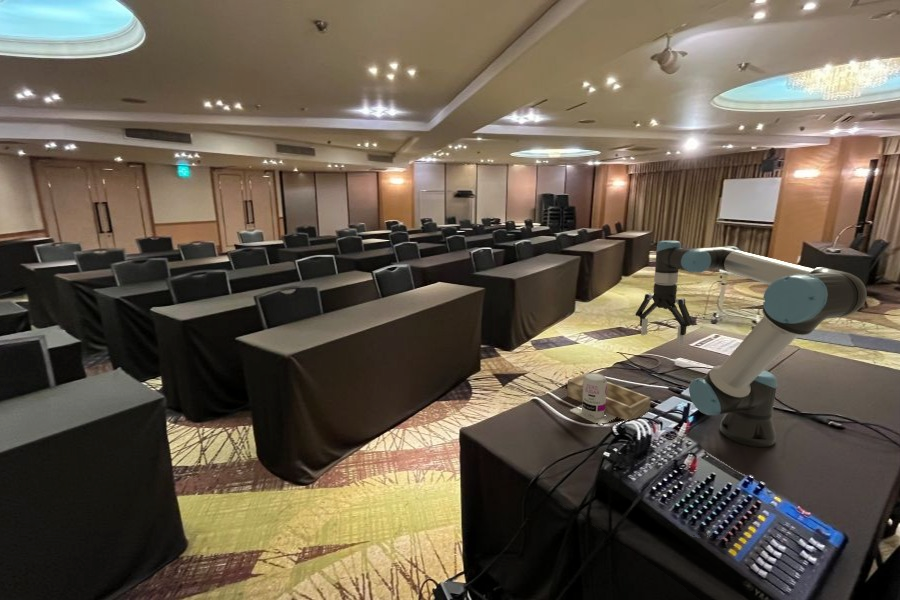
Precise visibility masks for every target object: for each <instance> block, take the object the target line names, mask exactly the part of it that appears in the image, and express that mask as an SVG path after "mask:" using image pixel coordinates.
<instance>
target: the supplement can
mask: <svg viewBox="0 0 900 600" xmlns="http://www.w3.org/2000/svg"><path fill="white" fill-rule="evenodd" d="M607 382H608V381H607V379H606V376H605V375H604V374H602V373H597V372H588V374H586V375H585V377H584V379H583V400H582V402H581V405H582V412H583V413H584V415H586V416H587V417H590V418H595V419H597V418H602V417H603V416H604V415H605V411H606V397H607V396H606V391H607Z"/></svg>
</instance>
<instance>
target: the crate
mask: <svg viewBox="0 0 900 600" xmlns="http://www.w3.org/2000/svg"><path fill="white" fill-rule="evenodd" d="M588 373H589V372H588V371H587V372H585V373H583V374H580V375H577V376H575V377H573V378H570V379H568V380H567V384H566V385H567V387H566V390H567V391H566V393H567V394H566V396H567V397H568V398H571V399H572V400H575V401H578V402H579V403H582V400H583V379H584V377H585V375H586V374H588ZM649 409H650V410H651V396H648V395H644V394H642V393H639V392H637V391H634V390H632V389H629V388H626V387H624V386H620V385H618V384H615V383H612V382H610V381H607V391H606V411H605V412H606V413H608V414H611V415H613V416H615V417H618V418H617V419H619V418H621V419H624V420H627V419H633V418H637V417H639V416H640V415H642V414H643V413H645V412H647V411H648V410H649ZM621 419H620V420H621Z"/></svg>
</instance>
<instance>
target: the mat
mask: <svg viewBox="0 0 900 600" xmlns="http://www.w3.org/2000/svg"><path fill="white" fill-rule="evenodd" d="M577 407H580V408H582V404H580V405H578V406H577ZM569 412H570V413H573V414H574V415H577V416H579V417H580V418H583V419H584V420H587V421H590V422H591V423H594V424H596V423H598V424H602V423H607V424H609V423H610V422H612V421H614V420H616V419H617V418H616V417H615V416H613V415H611V414H608V413H606V412H605V415H606V416H607V417H602V418H597V419H595V418H590V417H587V416H586V415H584V413H583V412H582V410H580V409H577V408H575V407H574V408H572V409H569ZM615 418H616V419H615ZM613 419H614V420H613ZM611 420H612V421H611ZM609 421H610V422H609ZM598 424H597V425H598Z"/></svg>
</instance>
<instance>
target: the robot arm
mask: <svg viewBox="0 0 900 600" xmlns="http://www.w3.org/2000/svg"><path fill="white" fill-rule="evenodd" d="M656 245H657V246H656V251H655V265H654V267H655V268H654V281H653V282H654V284H653V294H652V293H650V292H649V293H646V294H644V298H643V301H642V303H640V306H639V308H638V309H637V311H636V312H635V316H636V317H639V319H640V320H639V326H640V327H641V331H640V335H641V336H646V335H647V334H648V320H649V318H648V317H647V316H648V315H650V314H651V313H652V312H653V311H654V310H655V309H657V308H658V309H664V310H668V311H669V312H671V314H672V315H673V317H674V318H675V319H676V321H677V323H678V324H679V326H677V333H676V334H677V336H676V344H677V345H680V344H683V342H684V341H683V340H684V336H686V334H687V327H690V326H692V325H693V324H694V323H693V321H692V320H693V319H692V318H691V315H690V313H689V310H688V307H687V305H686V299H685V298H684V297H683V298H677V292H678V290H677V289H678V285H677V283H678V277H679V270H680V271H684V272H689V273H691V274H693V273H694V274H695V273H697V274H700V273H704V272H705V271H709V270H720V271H724V272H728V273H731V274H733V275H737V276H740V277H743V278H747V279H750V280H753V281H756V282H760V283H764V284H766V285H768V287H767V288H766V290H765V291H764V293H763V300H764V301H763V302H762V304H763V305H762V306H763V307H762V314H763V317H762V318H761V319H760V320H759V321H758V323H757V324H756V325H755V326H754V327H753V328H752V330H751V331H750V332H749V333H748V334H747V335H746V336H745V338H744V339H743V340H742V341H741V342H740V343H739V345H738V346H737V347H736V349H734V350H733V352H731V354H730V355H729V356H728V357H727V359H725V361H724V362H723V363H722V364H721V365H715V366H713V367H711V368H710V370H709V371H708V372H707V373H706V375H705V376H704V377H697V378H694V379H692V380H691V382H690V383H689V386H688V394H689V398H690V400H691V402H692V404H693V405H694V407H695V408H696V409H697V410H698V411H699V412H700V413H702V414H704V415H706V416H719V415H721V414H723V415H724V416H723V417H722V418H721V421H720V424H719V431H720V433H721V434H722V435H723V436H725V437H726V438H728V439H730V440H731V441H734V442H736V443H739V444H741V445H744V446H750V447H755V448H757V447H758V448H767V447H771V446H773V445H774V444H775V443H776V440H777V438H776V437H777V434H776V430H775V425H774V423H773V412H774V405H775V398H776V393H777V389H778V387H777V385H778V383H777V382H778V378H777V377H776V375H775V374H773V373H771V372H769V371H768V370H766V369H767V368H768V367H769V365H771V363H772V362H774V361H775V359H777V357H778V356H779V355H780V354H781V353H782V352H783V351H784V350H786V349H787V347H788V346H789V345H790V344H791V343H792V342H793V341H795V339H796V338H797V337H798V336H807V335H809V334H811V333H812V332H813V331H814V330H816V328H817V327H818V326H819V325H820V324H822V322H824V321H825V320H827V319H828V320H829V319H836V318H842V317H846V316H851V315H853V314H854V313H856V312H857V311H858V310H860V309H861V308H862V307H863V305H864V304H865V302H866V300H867V295H868V294H867V292H868V291H867V288H866V286H865V284H864V282H863V281H862V280H861V279H860V278H859V277H858V276H856V275H854V274H852V273H850V272H845V271H842V270H837V269H833V268H827V267H823V266H821V267H820V266H819V267H815V268H813V267H812V268H811V267H807V266H802V265H799V264H794V263H790V262H786V261H782V260H778V259H775V258H770V257H766V256H762V255H757V254H753V253H750V252H745V251H742V250H741V249H740V248H739V247H737V246H733V245H732V246H731V245H723V246H713V247H712V246H711V247H698V248H684V247H682V244H681V242H680V241H679V240H659V241H658V242H657V244H656ZM651 300H653V303H652V304H650V301H651ZM649 304H650V306H649V307H648V305H649ZM676 304H677V306H678V307H677V306H676ZM647 307H648V308H647ZM678 308H679V310H678Z"/></svg>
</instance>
